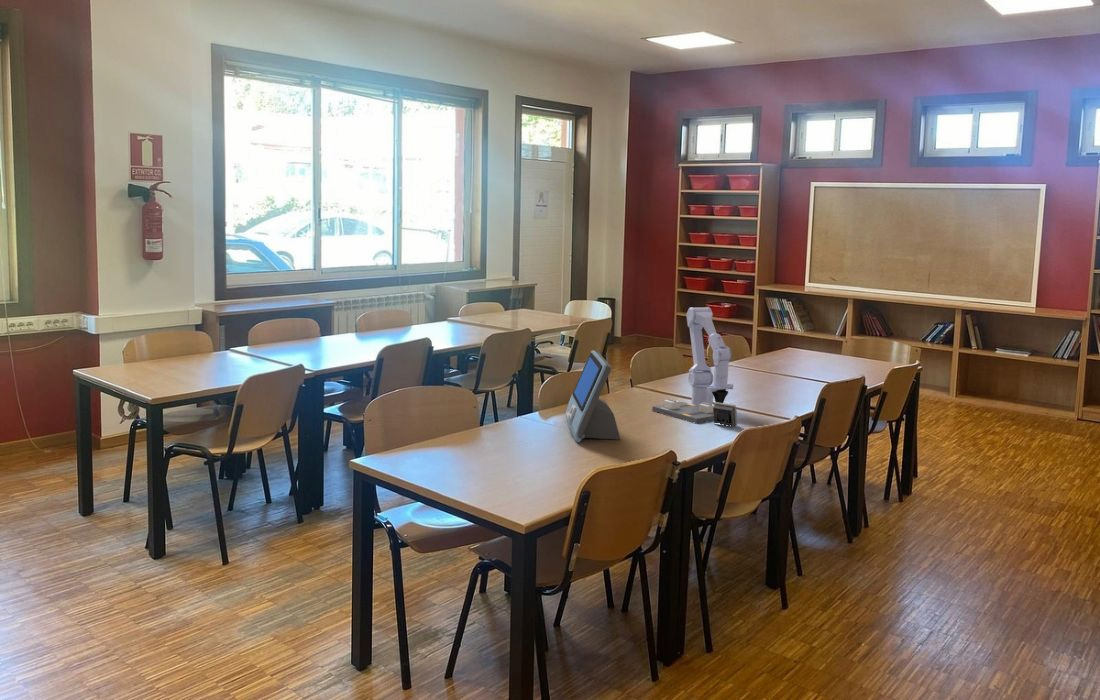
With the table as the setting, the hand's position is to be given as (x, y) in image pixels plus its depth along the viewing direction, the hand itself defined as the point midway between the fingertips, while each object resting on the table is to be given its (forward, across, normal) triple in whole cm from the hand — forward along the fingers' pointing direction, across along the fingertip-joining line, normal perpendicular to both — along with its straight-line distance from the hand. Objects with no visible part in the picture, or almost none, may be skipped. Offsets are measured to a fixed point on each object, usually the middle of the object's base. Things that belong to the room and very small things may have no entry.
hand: (719, 407), depth 369 cm
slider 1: (+1, -15, +13) cm, 20 cm away
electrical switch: (+3, -12, -14) cm, 19 cm away
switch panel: (+3, -12, +6) cm, 14 cm away
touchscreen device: (+4, -66, +6) cm, 66 cm away
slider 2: (+1, -7, 0) cm, 8 cm away
